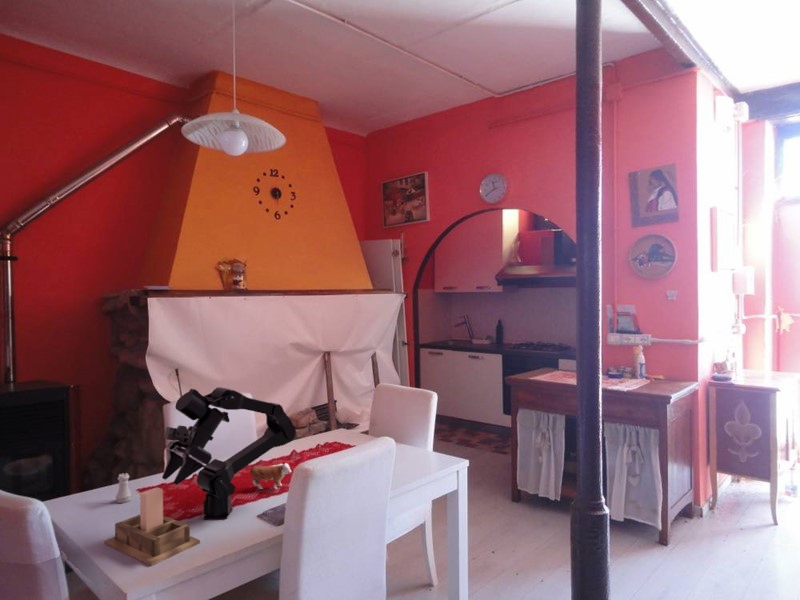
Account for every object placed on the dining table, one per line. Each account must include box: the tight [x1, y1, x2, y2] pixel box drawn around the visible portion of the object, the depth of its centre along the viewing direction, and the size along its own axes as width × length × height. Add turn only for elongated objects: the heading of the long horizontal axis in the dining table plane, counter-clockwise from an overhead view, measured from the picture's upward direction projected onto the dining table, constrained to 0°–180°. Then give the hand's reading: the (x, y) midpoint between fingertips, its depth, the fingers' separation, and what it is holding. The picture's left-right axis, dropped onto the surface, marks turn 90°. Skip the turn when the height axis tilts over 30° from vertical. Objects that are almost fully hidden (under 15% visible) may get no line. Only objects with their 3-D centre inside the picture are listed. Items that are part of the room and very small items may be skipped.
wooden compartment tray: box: [104, 514, 201, 567], centre depth 132 cm, size 13×20×5 cm, turn 58°
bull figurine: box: [249, 462, 292, 490], centre depth 169 cm, size 4×13×8 cm, turn 89°
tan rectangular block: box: [139, 487, 164, 531], centre depth 132 cm, size 4×2×12 cm, turn 147°
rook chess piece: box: [115, 472, 133, 504], centre depth 159 cm, size 4×4×8 cm
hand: (169, 481), depth 138 cm, fingers open, 9 cm apart
